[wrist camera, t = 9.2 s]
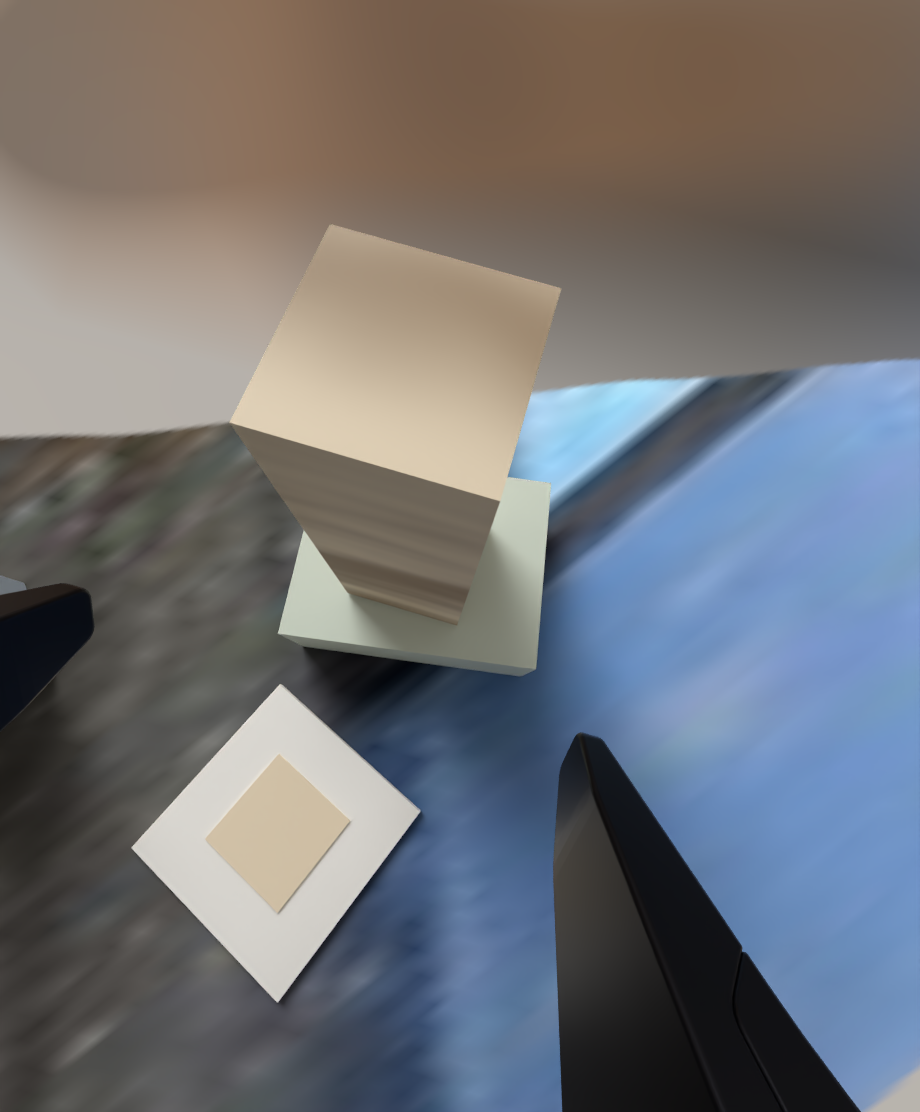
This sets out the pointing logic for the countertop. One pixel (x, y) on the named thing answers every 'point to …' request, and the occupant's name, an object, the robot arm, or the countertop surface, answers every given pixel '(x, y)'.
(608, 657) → the countertop surface
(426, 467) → the beech pillar
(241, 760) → the card
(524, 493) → the sage slab
